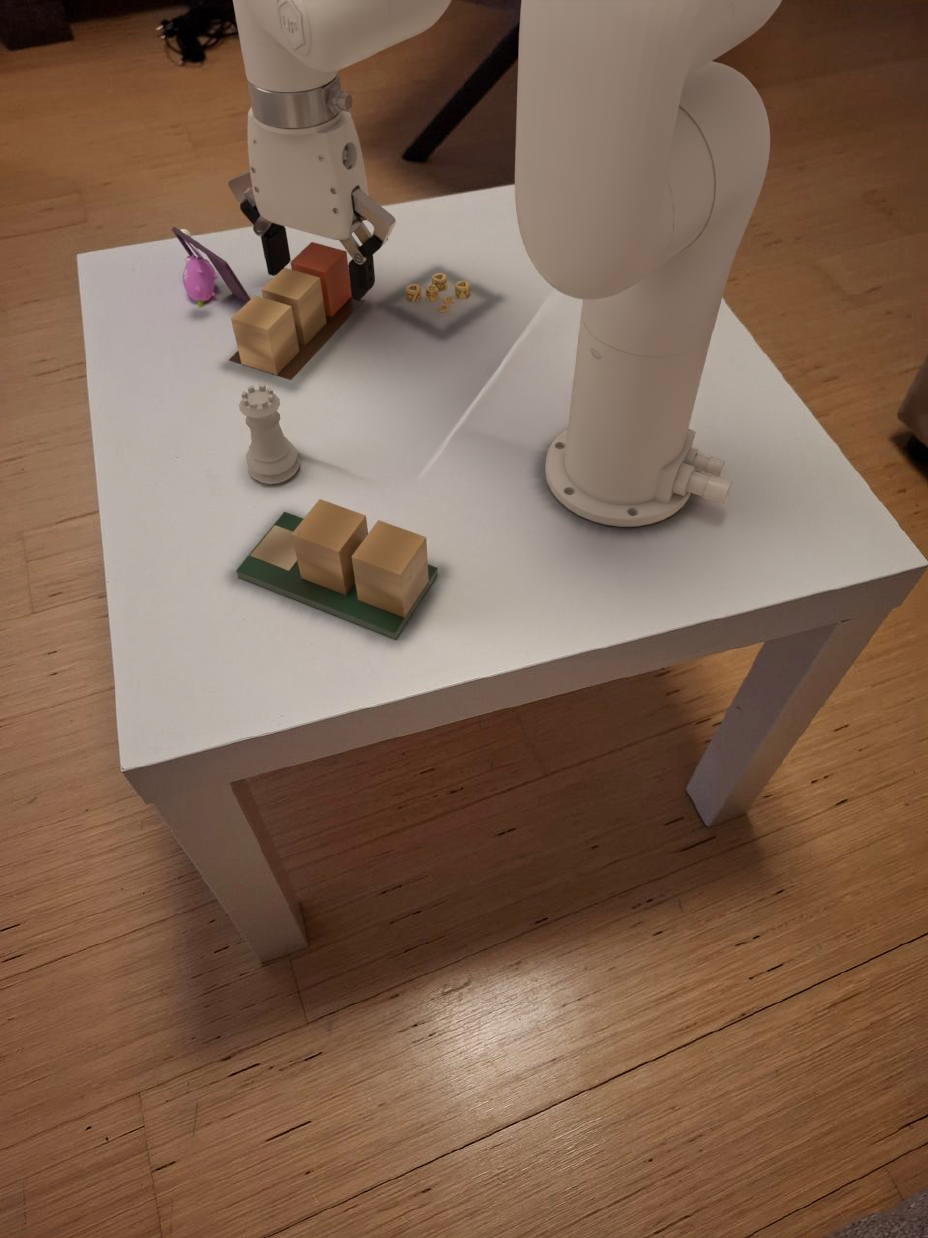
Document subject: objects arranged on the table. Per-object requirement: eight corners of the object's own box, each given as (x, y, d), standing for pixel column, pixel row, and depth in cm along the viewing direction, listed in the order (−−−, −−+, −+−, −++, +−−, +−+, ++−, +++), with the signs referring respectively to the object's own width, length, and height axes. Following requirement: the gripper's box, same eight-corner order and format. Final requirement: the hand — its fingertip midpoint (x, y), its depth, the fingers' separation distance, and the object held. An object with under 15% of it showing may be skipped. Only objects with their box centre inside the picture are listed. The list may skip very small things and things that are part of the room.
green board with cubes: (438, 574, 71) (436, 523, 66) (395, 639, 67) (390, 590, 63) (285, 517, 75) (273, 465, 70) (237, 577, 71) (221, 526, 66)
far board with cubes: (365, 307, 92) (360, 254, 88) (292, 387, 85) (282, 334, 80) (306, 290, 94) (298, 237, 90) (229, 366, 87) (216, 313, 82)
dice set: (403, 305, 93) (402, 288, 91) (437, 283, 95) (436, 266, 93) (440, 324, 91) (440, 307, 89) (473, 301, 93) (474, 284, 91)
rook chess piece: (256, 493, 76) (237, 419, 70) (242, 459, 79) (222, 385, 73) (307, 478, 78) (292, 403, 71) (291, 445, 80) (276, 370, 74)
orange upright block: (352, 296, 92) (346, 250, 88) (332, 317, 90) (325, 271, 86) (318, 286, 93) (311, 241, 89) (297, 307, 91) (289, 261, 87)
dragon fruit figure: (232, 256, 86) (178, 220, 90) (193, 293, 85) (140, 256, 89) (263, 305, 92) (211, 269, 96) (227, 340, 91) (176, 303, 95)
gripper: (407, 98, 76) (416, 282, 90) (234, 59, 80) (267, 240, 94) (363, 137, 72) (379, 324, 86) (183, 94, 76) (226, 278, 90)
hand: (320, 280), depth 90 cm, fingers open, 9 cm apart
